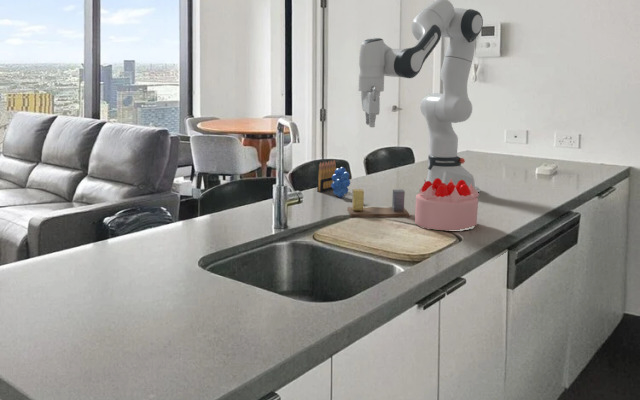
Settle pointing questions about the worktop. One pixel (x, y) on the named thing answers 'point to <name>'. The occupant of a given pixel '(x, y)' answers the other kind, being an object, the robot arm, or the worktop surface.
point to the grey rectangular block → (398, 200)
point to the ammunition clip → (326, 176)
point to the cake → (446, 205)
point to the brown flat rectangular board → (377, 212)
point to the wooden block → (358, 199)
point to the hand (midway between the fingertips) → (370, 125)
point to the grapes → (340, 182)
